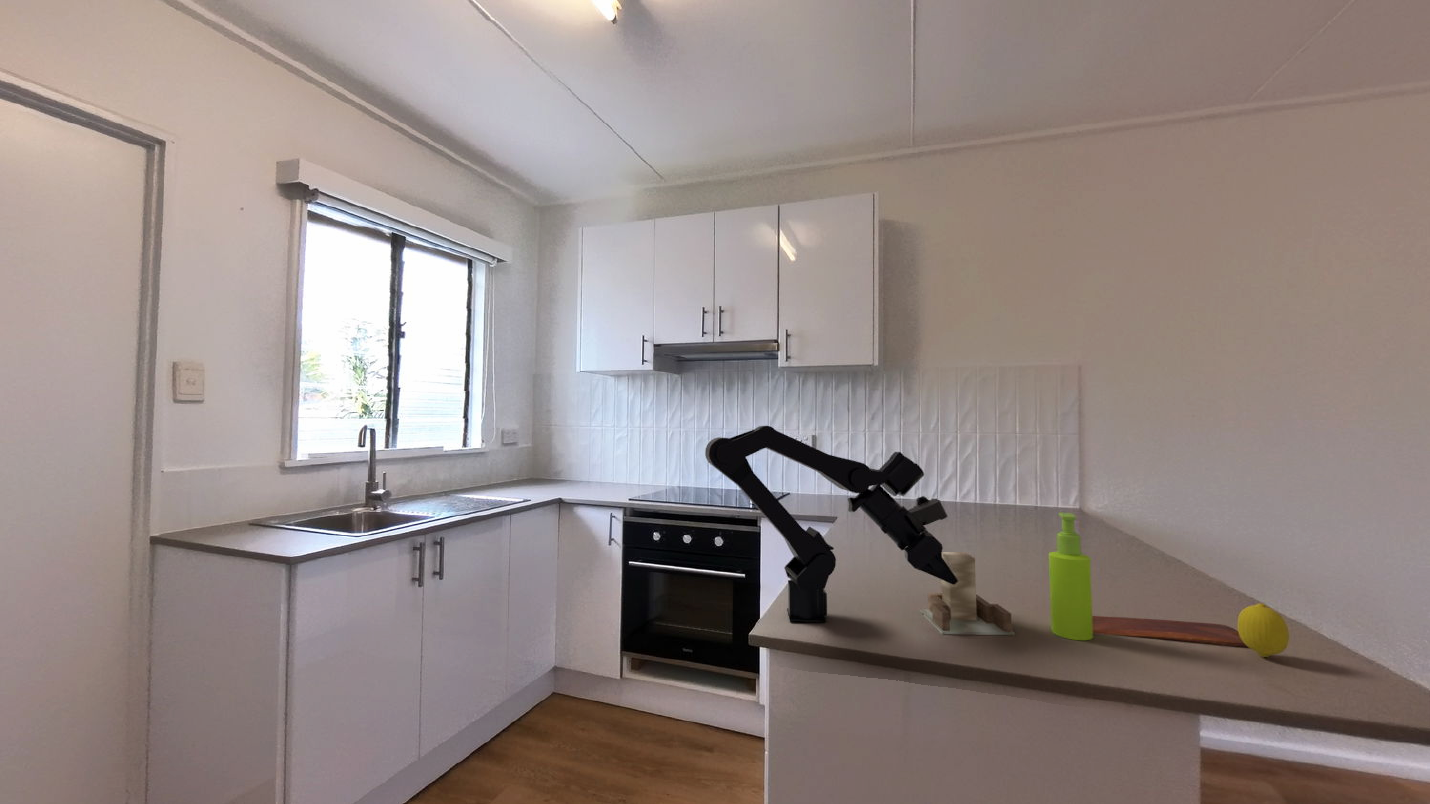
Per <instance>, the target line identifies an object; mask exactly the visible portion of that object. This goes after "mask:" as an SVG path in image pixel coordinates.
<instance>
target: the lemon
mask: <svg viewBox="0 0 1430 804" xmlns="http://www.w3.org/2000/svg"><path fill="white" fill-rule="evenodd" d="M1237 631H1238V633H1239V636H1240V638H1241V639H1242V641H1243V642H1244V643H1245V644H1246V645H1247V646H1248V647H1247V648H1249V649H1251V650H1252V651H1254V652H1256V653H1257V655H1259V656H1260V657H1261V656H1262V657H1261V658H1264V657H1267V658H1269V657H1270V656H1273V655H1278V654H1281V653H1282V652H1284V651H1285V650H1286V649H1287V647H1288V645H1289V641H1290V630H1289V628H1288V625H1287V622H1286V621H1285V619H1284V617H1282V615H1281V614H1279V612H1278V611H1276V610H1275V609H1273V608H1271V607H1268V606H1266V604H1265V603H1259V602H1258V603H1257V604H1254V605H1249V606H1247V607H1245V608H1243V609H1242V610H1241V611H1240V612H1239V615H1238V619H1237Z"/></svg>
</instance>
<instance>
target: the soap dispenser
mask: <svg viewBox="0 0 1430 804" xmlns="http://www.w3.org/2000/svg"><path fill="white" fill-rule="evenodd" d="M1058 516H1059V517H1060V518H1061V529H1062V530H1061V531H1060V532H1057V533H1056V547H1057V549H1056V551H1051V552H1049V553H1048V564H1049V565H1048V568H1049V570H1048V571H1049V595H1050V597H1049V598H1050V599H1049V600H1050V601H1049V602H1050V622H1051V623H1050V626H1051V627H1050V628H1051V632H1052V633H1053V634H1054V635H1056V636H1058V637H1061V638H1063V639H1068V640H1072V641H1073V640H1074V641H1090V640H1092V639H1093V638H1094V633H1093V624H1092V616H1093V600H1092V578H1091V577H1092V574H1091V557H1090V556H1088V555H1086V554H1083V553H1082V548H1081V546H1082V545H1081V542H1082V541H1081V535H1080V534H1078V533H1077V532H1075V521H1077V520H1076V517H1077V516H1075V514H1074V513H1073V512H1058Z"/></svg>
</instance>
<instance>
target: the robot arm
mask: <svg viewBox="0 0 1430 804" xmlns="http://www.w3.org/2000/svg"><path fill="white" fill-rule="evenodd" d="M763 449H767V450H769V451H771V452H774V453H777V454H778V455H780V456H782V457H785V458H787V459H788V460H791V461H793V462H796V463H798V464H800V465H802V466H804V467H807V468H809V469H811V470H813V471H816V472H817V473H818V474H820V475H821V476H822V477H823V478H825V479H826V480H827V481H829V482H830V483H831V484H833V485H834V486H836V487H837V488H839V489H840V490H845V491H847V492H850V493H854V494H857V495H856V496H855V497H851V496H850V497H848V498H847V503H848V508H847V510H848V512H849V513H855V512H856V511H857V510H858V509H859V508H860V509H861V511H862V512H864V513H865V514H866V516H868V517H869V518H870V520H871V521H872V522H874V524H875V525H876V526H877V527H879V528H880V530H881V531H882V532H883V534H885V535H887V537H888V538H890V539H891V541H893V543H894V544H896V547H898V548H899V550H900V551H904V558H905V559H906V562H908V563H909V565H910V566H912V568H914V569H915V570H918V571H920V572H923V573H926V574H929V575H930V576H932V577H935V578H938V579H939V580H941V579H942V580H944V581H946V582H948V583H951V584H953V585H955V584H956V583H957V582H958V580H957V578H956V577H955V575H954V574H953V572H952V571H951V570H950V568H949V567H948V565H947V564H946V562H945V561H944V559H943V558H942V552H943V549H944V546H943V544H942V543H941V542H940V540H938V539H937V538H936V537H935V536H934V535H933V534H932V533H931V532H929V531H928V529H927V528H926V527H925V526H926V525H929V524H930V525H931V524H932V523H934V522H937V521H939V520H941V521H942V520H945V519H946V518H948V514H947V512H946V510H945V508H944V506H943V504H942V501H941V500H940V499H938V498H931V499H930V500H929V498H927V497H926V496H924V495H921V496H920V497H917V498H915V502H916V503H915V505H914V506H913V507H911V508H909V509H907V508H906V507H905V506H904V505H901V504H900V503H898V501H896V499H894V498H893V497H897V496H898V495H900V496H901V497H905V496H906V495H907V494H908V493H909V492H910V491H911V490H912V488H913V487H915V485H916V484H918V483H919V481H920V480H921V479H922V478H923V477H924V476H925V473H924V470H923V469H922V468H921V466H920V465H919V464H918V463H916V462H914V461H913V460H912V459H911V458H908V457H907V456H905V455H904V454H903V453H902V452H901V451H894V452H893V453H892V454H891V455H890V456H889V459H887V461H885V463H884V464H883V465H881V467H880V468H879V469H878V468H877V469H876V468H870V467H869V466H868V464H867V465H866V464H865V463H863V462H859V461H857V460H852V459H849V458H844V457H840V456H835V455H832V454H829V453H826V452H824V451H821V450H819V449H817V448H815V447H813V446H810V445H809V444H806V443H804V442H803V441H800V440H798V439H796V438H794V437H792V436H789V435H787V434H784V433H782V432H780V431H778V430H776V429H775V428H774V427H772V426H769V425H759V426H758V427H756V428H754V429H751V430H749V431H747V432H744V433H740V434H737V435H735V436H732V437H722V436H721V437H719V436H718V437H714V438H713V439H711V440H710V441H709V442H708V443H707V445H706V447H705V451H704V452H705V453H704V454H705V455H704V456H705V459H706V460H707V462H708V463H709V464H710V465H711V466H712V467H713V468H715V469H716V470H717V471H719V472H720V473H721V474H722V475H724V476H725V477H726V478H728V479H729V480H730V481H731V482H733V483H734V484H735V485H736V486H737V487H738V488H739V489H740V490H741V491H742V493H744V495H745V496H746V497H747V498H748V499H749V500H750V502H751V503H752V504H753V505H754V506H755V508H756V509H758V510H759V512H760V513H761V514H762V515H763V516H764V517H765V518H766V519H767V521H768V522H769V523H770V524H771V525H772V526H773V528H774V529H775V530H776V531H777V532H778V534H780V535H781V537H783V539H784V541H785V543H786V544H787V547H788V549H789V550H790V553H791V554H792V555H793V557H792V558H791V560H789V562H787V564H786V565H785V566H783V567H784V572H785V575H786V577H787V578H788V580H787V603H788V604H787V608H786V611H787V612H788V613H787V616H789V617H788V621H789V620H790V621H803V622H802V623H805V622H804V621H809V622H808V623H826V622H827V619H826V617H827V616H828V594H827V590H825V589H826V586H827V583H828V580H829V578H830V576H831V575H832V573H833V572H834V571H835V568H836V565H837V563H836V562H837V557H836V555H835V554H834V552H833V550H834V547H833V546H831V545H830V544H829V543H827V541H826V540H825V538H824V536H823V535H822V534H821V532H819V531H818V530H816V529H815V528H812V527H811V526H808V527H807V529H806V530H805V529H804V528H803V526H801V525H800V524H799V523H798V521H797V520H796V519H795V518H794V517H793V516H792V515H791V513H790V512H789V511H788V510H787V509H786V508H785V506H783V504H782V503H781V502H780V501H779V500H778V498H776V496H775V495H774V494H773V493H772V492H771V491H770V490H769V488H768V487H767V486H766V485H765V484H764V483H763V482H762V480H761V479H760V478H759V477H758V476H757V475H756V474H755V472H754V471H753V468H752V467H751V465H750V463H749V461H748V460H749V459H747V457H750V456H751V455H754V454H755V453H758V452H759V451H762V450H763ZM870 487H871V488H870ZM892 496H893V497H892ZM790 621H789V622H790ZM810 621H811V622H810ZM816 621H817V622H816ZM825 621H826V622H825Z"/></svg>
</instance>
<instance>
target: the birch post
mask: <svg viewBox="0 0 1430 804" xmlns="http://www.w3.org/2000/svg"><path fill="white" fill-rule="evenodd" d="M942 558H943V559H944V561H945V562H946V564H947V565H948V567H949V568H950V570H951V571H952V572H953V574H954V575H955V577H956V578H957V580H958V582H957V583H956V584H955V585H953V584H951V583H948V582H946V581H944V580H942V579H940V581H941V593H942V600H943V601H944V602H945V603H946V604H947V605H948V606H949V615H950V620H977V613H976V594H977V587H976V585H977V582H976V558H975V557H974V556H972V555H970V554H969V553H967V552H955V551H954V552H952V551H951V552H950V551H945V552H943V551H942Z"/></svg>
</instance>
